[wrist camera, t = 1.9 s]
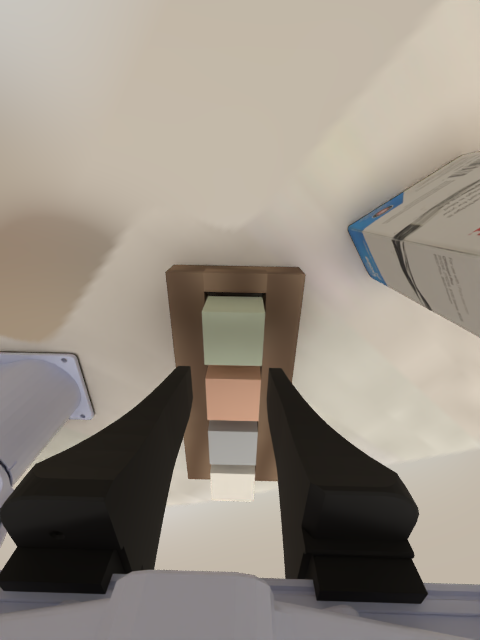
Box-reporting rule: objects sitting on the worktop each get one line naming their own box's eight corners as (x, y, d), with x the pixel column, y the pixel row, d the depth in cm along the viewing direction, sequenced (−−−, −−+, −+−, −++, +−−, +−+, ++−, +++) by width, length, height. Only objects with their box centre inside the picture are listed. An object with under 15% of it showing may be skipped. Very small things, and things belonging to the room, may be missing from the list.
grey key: (213, 435, 24) (209, 464, 22) (212, 404, 23) (208, 431, 20) (254, 436, 24) (255, 465, 22) (256, 405, 23) (257, 432, 20)
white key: (215, 470, 27) (211, 500, 24) (214, 443, 25) (210, 473, 22) (252, 471, 27) (253, 501, 24) (253, 444, 25) (255, 474, 22)
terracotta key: (212, 393, 22) (207, 420, 20) (210, 355, 21) (205, 378, 18) (256, 394, 22) (258, 421, 20) (258, 356, 21) (261, 380, 18)
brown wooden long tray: (192, 458, 30) (188, 478, 27) (174, 264, 20) (165, 272, 18) (276, 460, 30) (279, 481, 27) (298, 267, 20) (305, 274, 18)
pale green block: (209, 343, 20) (204, 364, 17) (208, 296, 18) (201, 311, 16) (259, 344, 20) (261, 366, 17) (262, 297, 18) (265, 313, 16)
